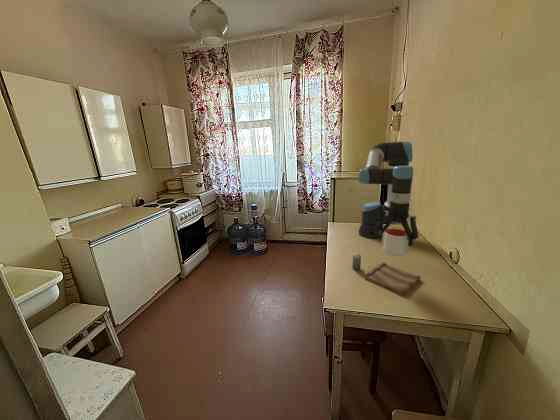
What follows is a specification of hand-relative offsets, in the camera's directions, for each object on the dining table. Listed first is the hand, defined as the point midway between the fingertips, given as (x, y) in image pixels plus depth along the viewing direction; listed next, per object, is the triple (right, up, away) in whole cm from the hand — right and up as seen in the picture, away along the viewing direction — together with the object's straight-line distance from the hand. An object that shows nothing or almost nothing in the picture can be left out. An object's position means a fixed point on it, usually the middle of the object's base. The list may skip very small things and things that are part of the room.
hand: (395, 248), depth 104 cm
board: (+1, -16, +4) cm, 16 cm away
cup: (0, -2, +1) cm, 2 cm away
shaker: (-13, -13, +15) cm, 24 cm away
